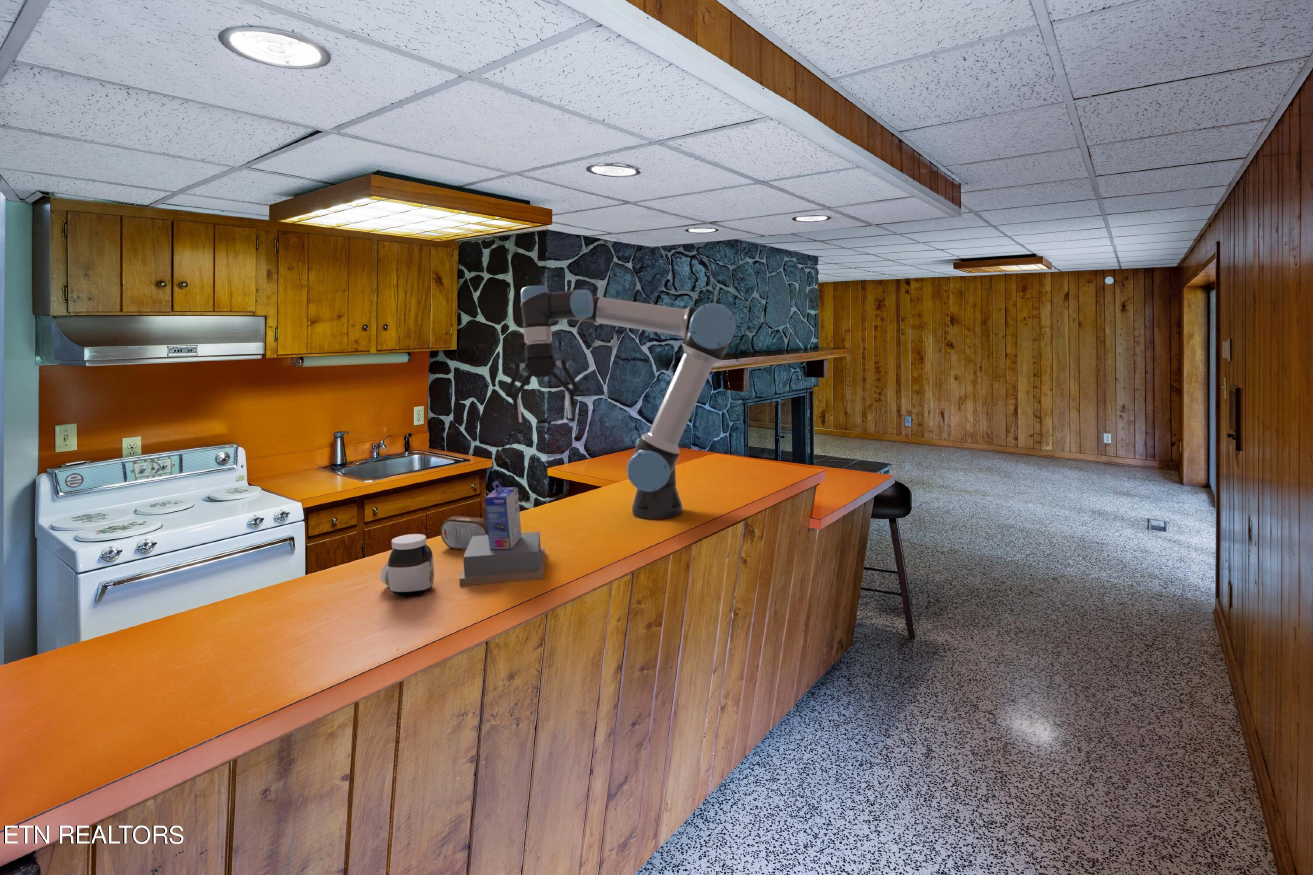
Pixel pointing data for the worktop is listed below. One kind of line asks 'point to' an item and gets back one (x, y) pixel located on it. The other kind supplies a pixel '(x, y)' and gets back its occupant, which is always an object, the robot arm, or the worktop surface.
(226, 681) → the worktop surface
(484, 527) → the tin
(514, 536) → the ink cartridge box
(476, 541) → the block
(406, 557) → the spread jar
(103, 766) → the worktop surface
